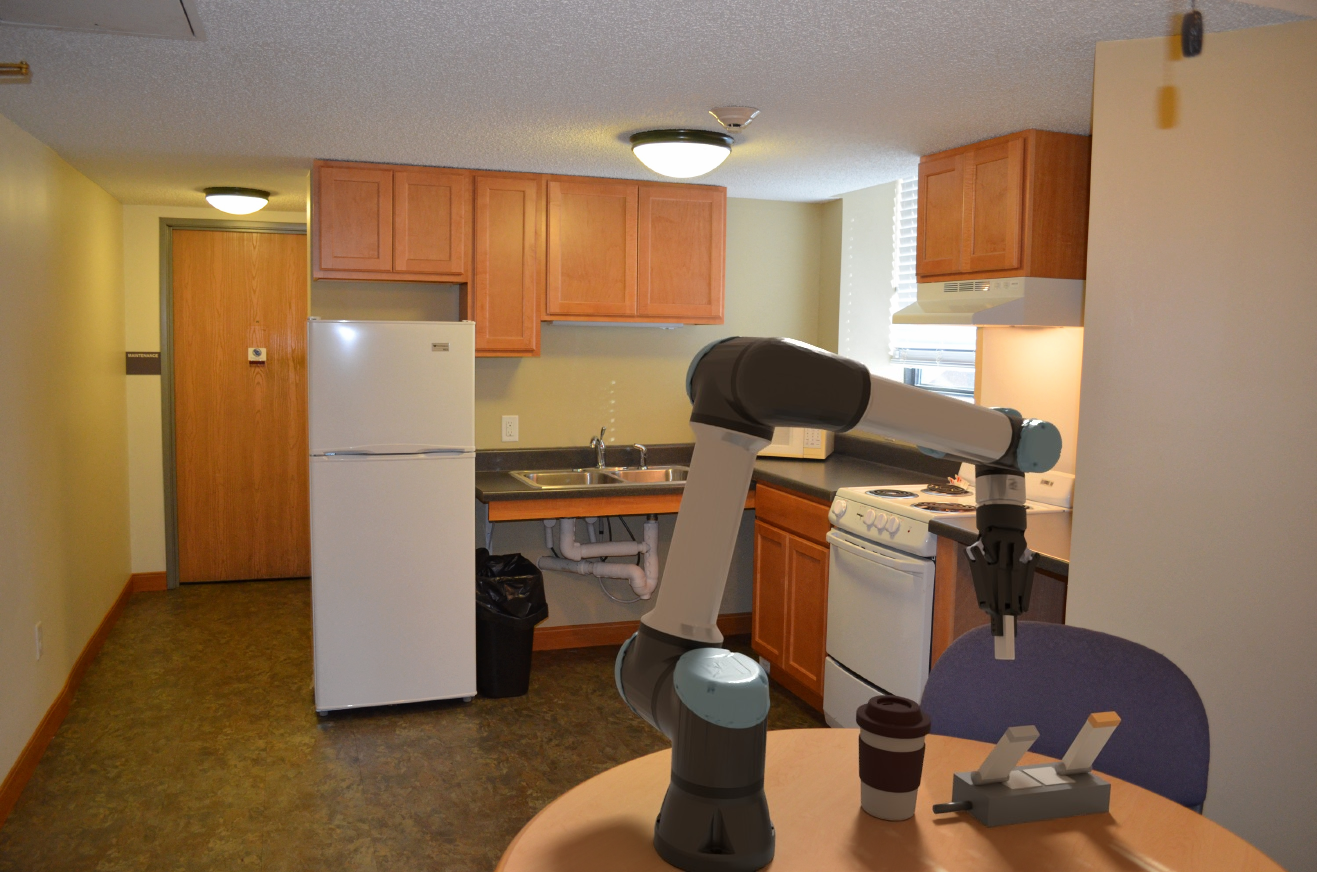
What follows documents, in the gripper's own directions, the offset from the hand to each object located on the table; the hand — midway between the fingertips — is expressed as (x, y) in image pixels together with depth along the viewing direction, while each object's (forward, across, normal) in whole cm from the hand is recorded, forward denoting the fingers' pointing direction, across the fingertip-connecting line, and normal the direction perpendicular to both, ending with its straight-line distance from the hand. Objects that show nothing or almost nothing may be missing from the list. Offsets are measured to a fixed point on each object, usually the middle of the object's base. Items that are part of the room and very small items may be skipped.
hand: (1004, 658), depth 147 cm
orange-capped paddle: (+15, +4, -8) cm, 17 cm away
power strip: (+20, -5, -7) cm, 22 cm away
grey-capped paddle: (+16, -10, -8) cm, 20 cm away
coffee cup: (+22, -22, -3) cm, 31 cm away
